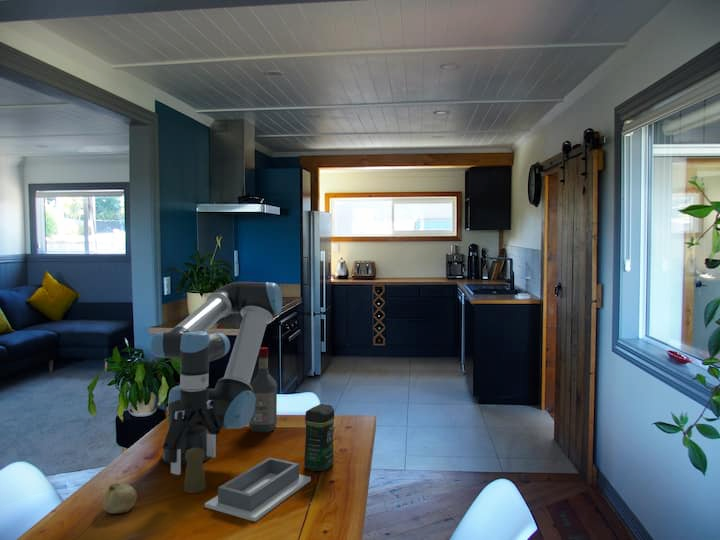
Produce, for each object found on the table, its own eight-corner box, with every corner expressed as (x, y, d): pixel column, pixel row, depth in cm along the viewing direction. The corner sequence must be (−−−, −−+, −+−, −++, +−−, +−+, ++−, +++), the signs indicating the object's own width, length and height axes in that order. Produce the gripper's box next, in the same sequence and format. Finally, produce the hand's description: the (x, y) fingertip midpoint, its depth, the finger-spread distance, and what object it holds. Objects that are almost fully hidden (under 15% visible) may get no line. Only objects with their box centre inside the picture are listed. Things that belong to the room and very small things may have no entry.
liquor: (273, 432, 192) (273, 350, 191) (248, 432, 192) (248, 350, 191) (277, 424, 201) (277, 346, 200) (253, 423, 201) (253, 345, 200)
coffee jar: (323, 474, 157) (324, 412, 156) (300, 469, 160) (300, 409, 159) (337, 462, 165) (338, 403, 165) (315, 458, 169) (315, 400, 168)
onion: (123, 500, 139) (123, 473, 139) (143, 507, 135) (143, 480, 135) (95, 512, 132) (95, 485, 132) (115, 521, 128) (115, 492, 128)
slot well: (255, 521, 129) (255, 501, 129) (204, 507, 136) (204, 487, 136) (310, 480, 152) (310, 463, 152) (265, 469, 159) (265, 453, 159)
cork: (210, 486, 148) (210, 447, 148) (195, 494, 143) (195, 454, 142) (194, 481, 151) (194, 443, 150) (178, 490, 145) (178, 450, 145)
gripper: (170, 400, 133) (169, 484, 133) (234, 380, 155) (234, 452, 156) (148, 397, 136) (148, 478, 136) (215, 377, 158) (214, 447, 159)
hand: (194, 464), depth 146 cm, fingers open, 13 cm apart
